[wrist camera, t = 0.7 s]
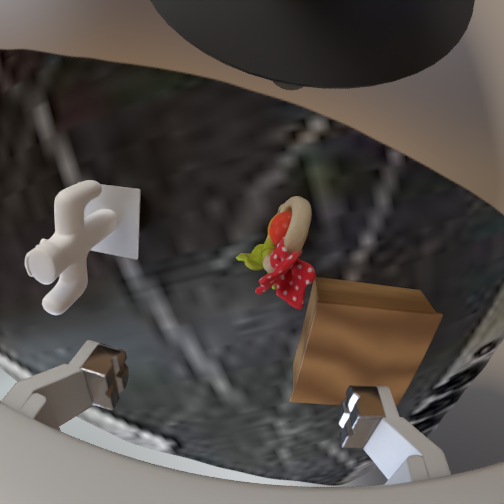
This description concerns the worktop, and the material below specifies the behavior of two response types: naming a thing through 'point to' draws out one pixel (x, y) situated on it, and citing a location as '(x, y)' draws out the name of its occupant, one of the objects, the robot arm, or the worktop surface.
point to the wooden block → (360, 339)
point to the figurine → (84, 238)
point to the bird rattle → (284, 253)
